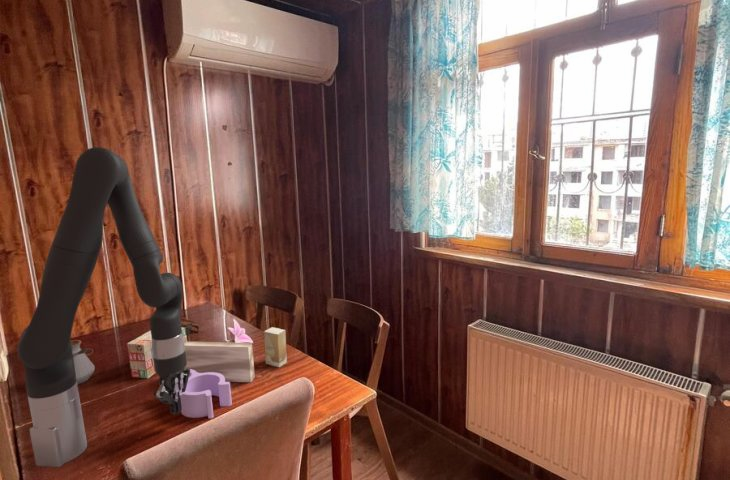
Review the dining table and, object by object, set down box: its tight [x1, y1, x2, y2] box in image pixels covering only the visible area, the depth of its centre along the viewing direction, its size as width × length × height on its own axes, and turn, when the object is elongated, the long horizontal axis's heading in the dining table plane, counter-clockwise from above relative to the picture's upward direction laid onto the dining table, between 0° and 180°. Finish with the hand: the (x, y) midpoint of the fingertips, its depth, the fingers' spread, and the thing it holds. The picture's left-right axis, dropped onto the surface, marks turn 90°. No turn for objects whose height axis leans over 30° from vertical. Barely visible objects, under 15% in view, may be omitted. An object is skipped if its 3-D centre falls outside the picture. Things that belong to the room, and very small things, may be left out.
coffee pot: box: [70, 339, 95, 386], centre depth 128 cm, size 21×12×15 cm, turn 55°
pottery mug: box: [180, 317, 200, 338], centre depth 166 cm, size 12×10×8 cm
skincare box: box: [263, 326, 288, 368], centre depth 139 cm, size 6×4×12 cm
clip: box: [180, 369, 233, 419], centre depth 117 cm, size 20×12×7 cm, turn 61°
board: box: [184, 340, 256, 383], centre depth 129 cm, size 3×22×12 cm, turn 84°
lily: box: [227, 318, 254, 344], centre depth 153 cm, size 12×12×10 cm
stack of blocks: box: [127, 326, 188, 379], centre depth 141 cm, size 21×6×12 cm, turn 168°
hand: (176, 412), depth 106 cm, fingers closed
